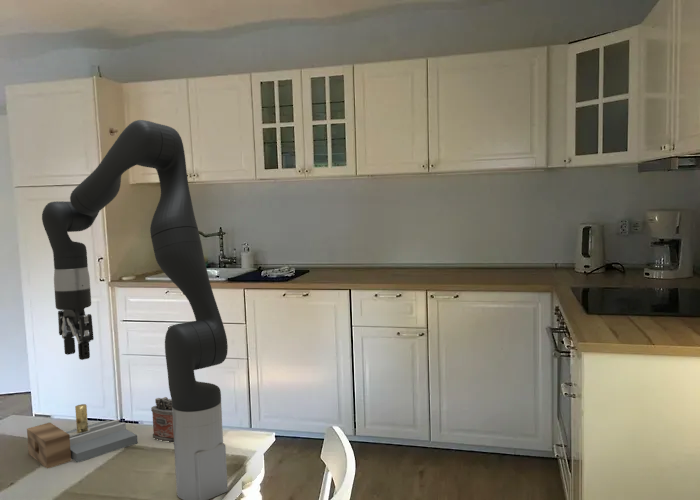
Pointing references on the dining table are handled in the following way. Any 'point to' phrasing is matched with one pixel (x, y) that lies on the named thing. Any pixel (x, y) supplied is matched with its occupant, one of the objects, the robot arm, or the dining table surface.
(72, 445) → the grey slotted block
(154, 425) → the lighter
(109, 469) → the dining table surface
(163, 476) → the dining table surface
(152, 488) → the dining table surface
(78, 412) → the bolt
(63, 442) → the jamb keeper
